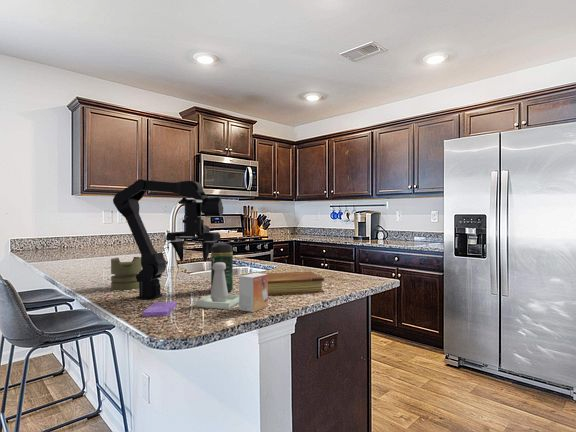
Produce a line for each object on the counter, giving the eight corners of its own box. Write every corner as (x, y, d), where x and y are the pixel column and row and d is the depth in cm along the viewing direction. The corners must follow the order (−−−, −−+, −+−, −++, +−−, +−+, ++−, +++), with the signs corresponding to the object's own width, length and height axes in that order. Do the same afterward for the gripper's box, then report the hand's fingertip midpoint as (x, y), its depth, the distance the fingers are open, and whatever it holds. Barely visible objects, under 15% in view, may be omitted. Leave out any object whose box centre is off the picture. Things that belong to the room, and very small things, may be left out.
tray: (195, 306, 115) (195, 301, 115) (213, 298, 126) (213, 293, 126) (228, 309, 112) (228, 303, 112) (243, 300, 123) (243, 295, 123)
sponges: (142, 318, 104) (142, 311, 104) (154, 307, 117) (154, 301, 117) (167, 317, 105) (167, 310, 105) (176, 306, 118) (176, 300, 118)
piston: (142, 259, 144) (110, 260, 139) (142, 289, 144) (110, 292, 139) (140, 256, 154) (111, 257, 149) (140, 284, 154) (111, 286, 149)
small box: (253, 312, 108) (252, 277, 108) (238, 310, 111) (238, 275, 111) (268, 307, 114) (268, 273, 114) (254, 304, 117) (254, 272, 117)
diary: (310, 284, 154) (310, 271, 154) (324, 293, 136) (324, 278, 136) (256, 286, 149) (256, 272, 149) (263, 296, 131) (263, 280, 131)
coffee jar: (235, 292, 137) (234, 243, 137) (214, 294, 134) (213, 243, 134) (229, 287, 146) (229, 241, 146) (209, 289, 143) (209, 242, 143)
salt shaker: (217, 305, 115) (217, 264, 115) (206, 302, 119) (206, 262, 119) (231, 301, 119) (231, 262, 119) (220, 299, 123) (220, 261, 123)
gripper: (227, 216, 133) (227, 259, 133) (182, 216, 138) (183, 257, 138) (212, 216, 122) (213, 263, 122) (164, 217, 127) (165, 261, 127)
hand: (193, 261), depth 128 cm, fingers open, 9 cm apart
